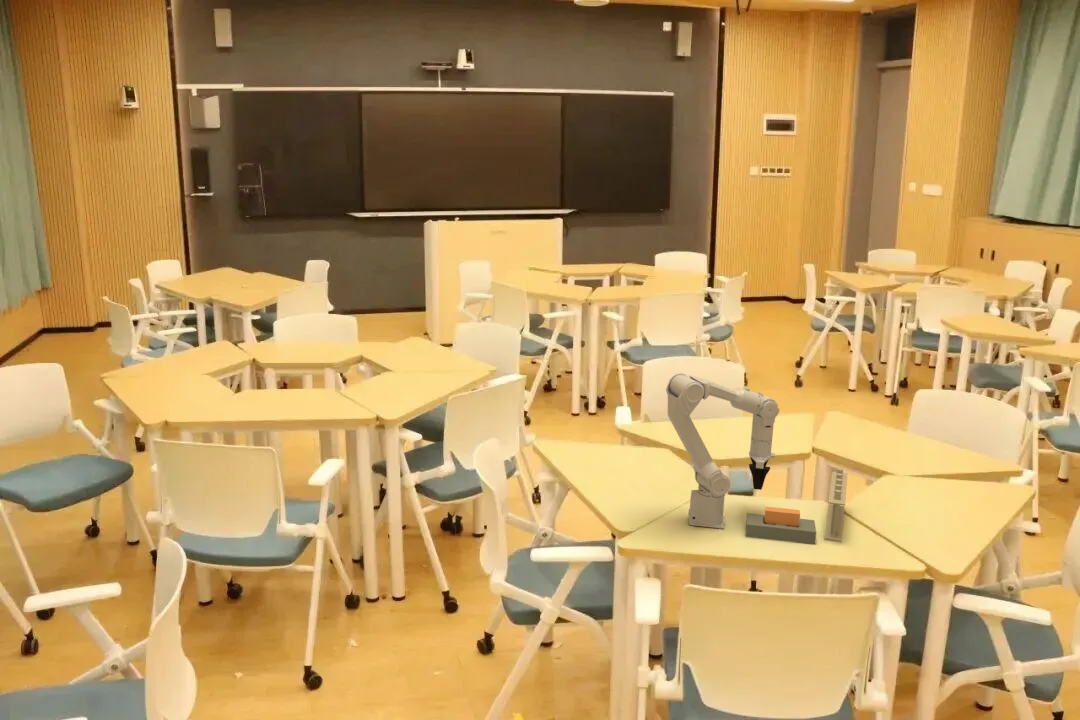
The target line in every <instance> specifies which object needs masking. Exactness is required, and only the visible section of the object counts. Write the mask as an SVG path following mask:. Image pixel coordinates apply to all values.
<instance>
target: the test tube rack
mask: <svg viewBox="0 0 1080 720" xmlns="http://www.w3.org/2000/svg"><path fill="white" fill-rule="evenodd" d="M847 486H848V472H847V473H846V472H844V469H843V468H840V467H839V468H837V470H836V471H832V470H831V479H830V487H829V493H828V505H827V506H828V507H827V514H826V523H825V530H824V538H823V540H824V541H828V542H836V543H840V544H841V543H842V541H843V529H844V528H843V526H844V515H845V506H846V502H847V501H846V499H847Z"/></svg>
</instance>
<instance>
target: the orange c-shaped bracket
mask: <svg viewBox="0 0 1080 720" xmlns="http://www.w3.org/2000/svg"><path fill="white" fill-rule="evenodd" d="M764 507H765V509H764V515H765V517H764V521H765V523H766V524H771V525H774V524H781V525H789V526H790V527H797V526H799V521H800V519H801V509H794V508H784V507H777V506H776V507H772V506H764Z"/></svg>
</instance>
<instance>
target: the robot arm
mask: <svg viewBox="0 0 1080 720" xmlns="http://www.w3.org/2000/svg"><path fill="white" fill-rule="evenodd" d="M665 391H666V394H667V417H668V419H669V421H670V423H671V425H672V426H673V428H674V430H675V432H676V434H677V436H678V438H679V440H680V441H681V443H682V444H683V447H684V448H685V450H686V453H687V454H688V456H689V458H690V460H691V461H692V463H693V465H692V469H693V472H694V480H695V481H696V483H697V484H698V486H697V487H698V489H692V490H691V492H690V503H689V508H688V517H689V519H688V526H694V527H695V526H697V527H703V528H713V529H721V530H722V529H724V528H725V516H724V508H725V496H726V494H727V493H728V492H729V490H730V488H731V481H730V478H729V477H728V476H727V475H726V474H724V473H723V472H722V471H721V469H720V468H719V466H718V465H717V464H716V463H715V461H714V460H713V458H712V456H711V455H710V453H709V450H708V448H707V447H706V445H705V443H704V441H703V439H702V437H701V436H700V433H699V431H698V430H697V428H696V426H695V424H694V422H693V421H692V418H691V414H692V413H693V411H694V410H695V409H696V408H697V406H698V405H699V403H700V402H701V401H703V400H706V399H708V397H709V396H711V397H714V398H717V399H721V400H723V401H724V400H725V401H728V402H730V404H731V407H733V408H735V409H738V410H740V411H744V412H747V413H749V414H752V421H751V422H752V423H751V424H752V425H751V436H750V446H749V448H750V449H749V451H748V456H749V458H750V460H751V463H749V464H748V468H749V471H750V473H751V476H752V486H753V489H754V490H760V491H761V490H762V489H763V487H764V484H765V483H764V482H765V479H766V476H767V475H768V474H769V472H770V470H771V466H767V464H768V462H769V460H770V459H772V458H773V459H775V458H776V453H773V452H772V447H773V446H772V445H773V435H774V426H775V425H774V424H775V422H776V421H775V420H776V418H777V416H778V414H779V413H780V408H779V404H778V403H777V402H776V400H775V399H772V397H771V398H770V397H768V396H767V395H765V394H764V393H762V392H760V391H759V392H758V393H757V392H754V391H751V388H749V387H747V386H743V387H736V388H735V389H731V388H728V387H726V386H723V385H720V384H718V383H715V382H714V381H710V380H708V379H706V378H703V377H702V378H701V377H698V376H694V375H690V374H689V375H688V376H687V375H686V374H685V373H681V372H680V373H675V374H674V375H671V378H670V379H669V381H668V383H667V386H666V388H665Z"/></svg>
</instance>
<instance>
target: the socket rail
mask: <svg viewBox="0 0 1080 720" xmlns="http://www.w3.org/2000/svg"><path fill="white" fill-rule="evenodd" d="M764 517H765V514H761V513H750V512H746V518H745V519H746V520H745V521H746V522H745V537H746V538H756V539H765V540H772V541H773V540H775V541H783V542H790V543H792V542H793V543H800V544H809V545H815V544H816V541H817V539H816V538H817V529H816V523H815V519H808V518H807V519H806V518H800V521H799V526H797V527H790V526H789V525H781V524H774V525H771V524H766V523H765V521H764Z"/></svg>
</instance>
